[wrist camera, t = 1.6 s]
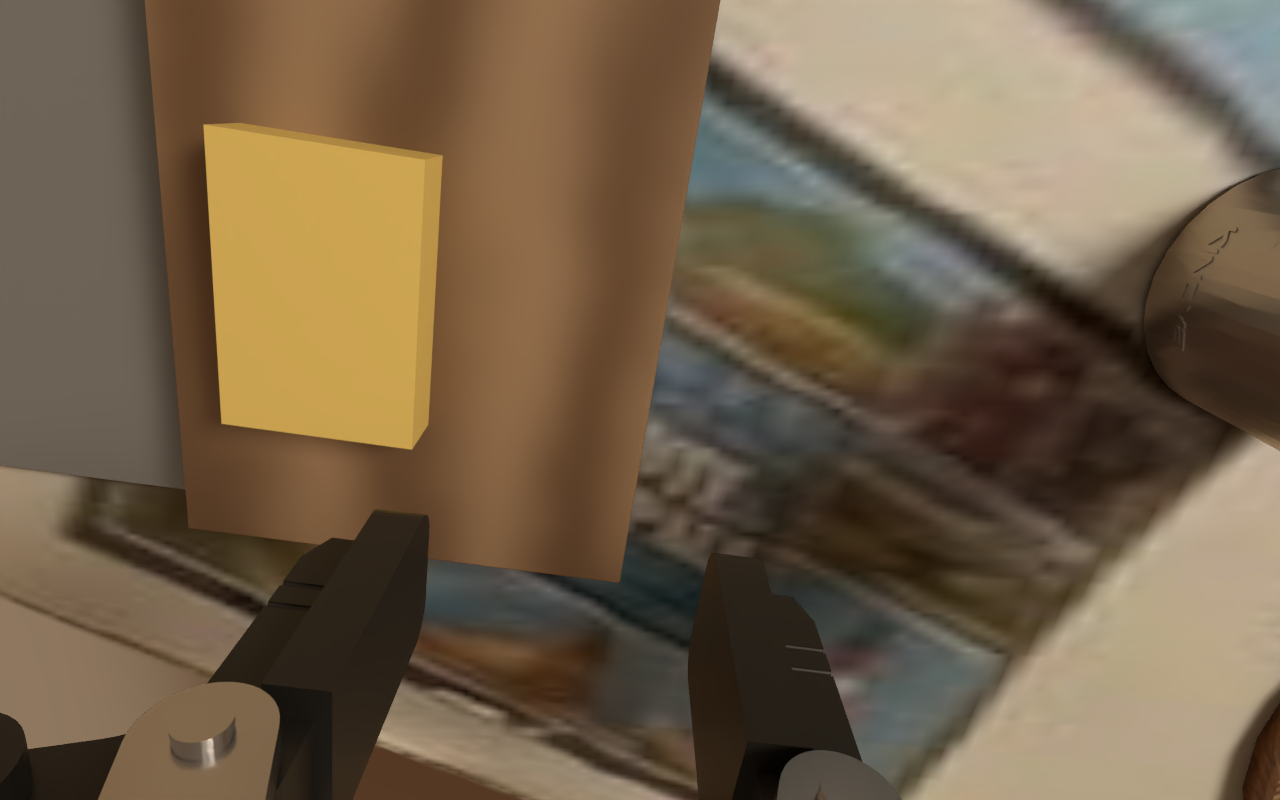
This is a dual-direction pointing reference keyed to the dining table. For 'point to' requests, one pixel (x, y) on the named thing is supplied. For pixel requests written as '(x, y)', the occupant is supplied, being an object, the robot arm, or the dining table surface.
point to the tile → (323, 282)
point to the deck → (456, 255)
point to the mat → (83, 248)
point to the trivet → (1265, 763)
